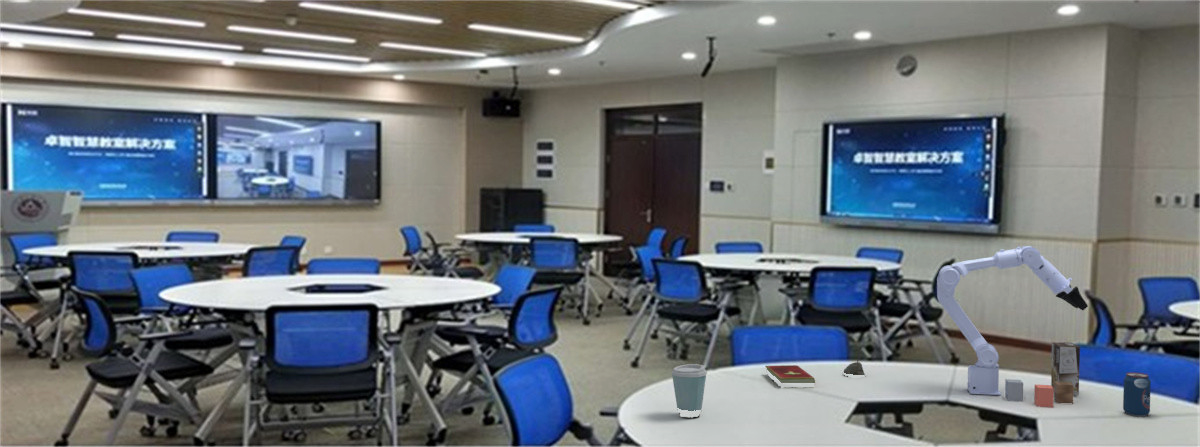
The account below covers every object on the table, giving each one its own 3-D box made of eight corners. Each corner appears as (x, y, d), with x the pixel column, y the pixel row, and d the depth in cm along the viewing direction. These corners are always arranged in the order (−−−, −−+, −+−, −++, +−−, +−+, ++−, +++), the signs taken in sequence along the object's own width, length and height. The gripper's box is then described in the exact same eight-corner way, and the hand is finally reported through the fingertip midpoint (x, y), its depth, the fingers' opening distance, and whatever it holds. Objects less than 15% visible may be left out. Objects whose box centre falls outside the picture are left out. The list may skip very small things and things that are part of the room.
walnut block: (1057, 403, 287) (1057, 384, 287) (1054, 400, 291) (1054, 381, 291) (1073, 404, 286) (1073, 385, 285) (1069, 400, 290) (1069, 382, 290)
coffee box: (1079, 396, 296) (1080, 346, 295) (1058, 395, 297) (1059, 346, 297) (1071, 389, 305) (1072, 342, 304) (1050, 389, 306) (1051, 341, 306)
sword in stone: (838, 373, 333) (839, 340, 333) (859, 373, 334) (860, 341, 333) (848, 379, 323) (849, 345, 323) (869, 379, 324) (871, 346, 323)
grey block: (1007, 400, 290) (1008, 382, 290) (1005, 397, 295) (1005, 379, 295) (1023, 401, 289) (1023, 382, 289) (1020, 398, 294) (1020, 379, 293)
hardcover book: (798, 375, 330) (798, 364, 330) (815, 389, 309) (815, 376, 309) (765, 376, 330) (765, 364, 329) (780, 389, 309) (780, 377, 308)
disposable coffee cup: (683, 422, 266) (683, 371, 265) (664, 414, 275) (664, 364, 275) (713, 417, 271) (714, 367, 270) (693, 409, 280) (693, 361, 279)
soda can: (1149, 418, 269) (1150, 377, 268) (1122, 414, 272) (1123, 375, 272) (1149, 412, 275) (1151, 373, 274) (1123, 410, 278) (1124, 371, 278)
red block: (1037, 406, 283) (1037, 387, 283) (1034, 403, 287) (1034, 384, 287) (1053, 407, 282) (1053, 388, 281) (1049, 404, 286) (1050, 385, 286)
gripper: (1065, 268, 286) (1098, 300, 283) (1055, 266, 300) (1086, 297, 297) (1047, 283, 287) (1080, 315, 285) (1038, 281, 301) (1069, 311, 299)
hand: (1082, 307), depth 291 cm, fingers open, 7 cm apart
